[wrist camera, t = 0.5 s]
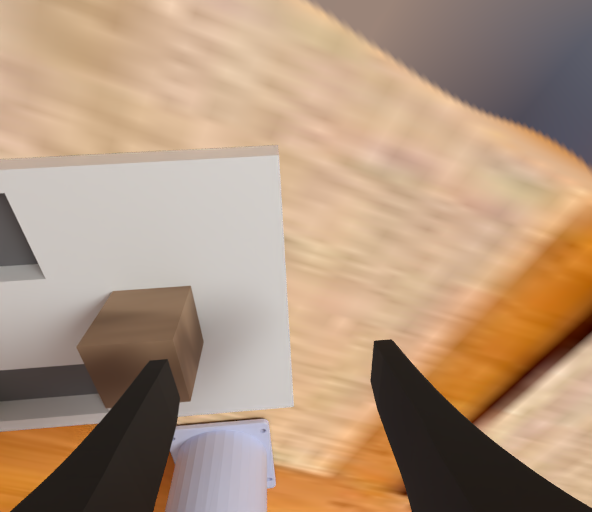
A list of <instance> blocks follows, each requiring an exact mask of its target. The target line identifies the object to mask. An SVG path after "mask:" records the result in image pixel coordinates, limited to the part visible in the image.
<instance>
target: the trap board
mask: <svg viewBox="0 0 592 512" xmlns="http://www.w3.org/2000/svg"><path fill="white" fill-rule="evenodd" d="M179 286H191V288H192V293H193V297H194V301H195V306H196V310H197V315H198V319H199V323H200V328H201V332H202V336H203V341H204V343H203V348H202V352H201V357H200V361H199V366H198V370H197V375H196V379H195V384H194V388H193V393H192V397H191V401H190V402H180V404H179V411H178V417H180V416H191V415H203V414H215V413H227V412H239V411H251V410H262V409H274V408H286V407H294V402H293V385H292V368H291V351H290V334H289V317H288V301H287V284H286V267H285V250H284V233H283V216H282V199H281V182H280V165H279V151H278V145H268V146H248V147H229V148H209V149H190V150H171V151H151V152H132V153H112V154H93V155H74V156H54V157H35V158H15V159H0V432H2V431H14V430H26V429H37V428H49V427H61V426H73V425H85V424H97V423H100V421H101V420H102V419H103V418H104V417H105V416H106V414H107V413H108V412H109V411H110V409H111V408H105V406H104V404H103V402H102V400H101V397H100V395H99V393H98V391H97V389H96V387H95V385H94V383H93V381H92V379H91V377H90V375H89V373H88V371H87V369H86V367H85V364H84V362H83V360H82V358H81V356H80V354H79V352H78V350H77V348H76V347H77V345H78V344H79V342H80V340H81V339H82V337H83V336H84V334H85V333H86V331H87V330H88V328H89V327H90V325H91V324H92V322H93V321H94V319H95V318H96V316H97V315H98V313H99V312H100V310H101V308H102V307H103V305H104V304H105V302H106V301H107V299H108V298H109V296H110V295H111V293H112V292H113V291H121V290H135V289H150V288H165V287H179Z"/></svg>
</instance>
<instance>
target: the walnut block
mask: <svg viewBox="0 0 592 512" xmlns="http://www.w3.org/2000/svg"><path fill="white" fill-rule="evenodd" d="M203 343H204V341H203V336H202V332H201V328H200V323H199V319H198V315H197V310H196V306H195V301H194V297H193V293H192V288H191V286H179V287H165V288H150V289H135V290H121V291H113V292H112V293H111V295H110V296H109V298H108V299H107V301H106V302H105V304H104V305H103V307H102V308H101V310H100V312H99V313H98V315H97V316H96V318H95V319H94V321H93V322H92V324H91V325H90V327H89V328H88V330H87V331H86V333H85V334H84V336H83V337H82V339H81V340H80V342H79V344H78V345H77V347H76V348H77V350H78V352H79V354H80V356H81V358H82V360H83V362H84V364H85V367H86V369H87V371H88V373H89V375H90V377H91V379H92V381H93V383H94V385H95V387H96V389H97V391H98V393H99V395H100V397H101V400H102V402H103V404H104V406H105V408H112V407H113V406H114V405H115V403H116V402H117V401H118V400H119V399H120V397H121V396H122V395H123V394H124V392H125V391H126V390H127V388H128V387H129V386H130V385H131V383H132V382H133V381H134V380H135V378H136V377H137V376H138V374H139V373H140V372H141V371H142V369H143V368H144V367H145V365H146V364H147V363H148V362H149V361H150V360H161V359H168V362H169V365H170V368H171V371H172V374H173V377H174V380H175V383H176V386H177V390H178V393H179V396H180V402H190V401H191V397H192V393H193V388H194V384H195V379H196V375H197V370H198V366H199V361H200V357H201V352H202V348H203Z"/></svg>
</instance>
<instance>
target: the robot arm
mask: <svg viewBox="0 0 592 512" xmlns="http://www.w3.org/2000/svg"><path fill="white" fill-rule="evenodd" d="M371 385H372V389H373V393H374V397H375V401H376V405H377V409H378V412H379V415H380V418H381V421H382V423H383V426H384V429H385V432H386V434H387V437H388V440H389V443H390V445H391V448H392V451H393V453H394V456H395V459H396V462H397V464H398V467H399V470H400V473H401V475H402V479H403V482H404V485H405V488H406V491H407V495H408V499H409V502H410V506H411V510H412V512H592V508H590V507H589V506H587V505H585V504H584V503H582V502H581V501H579V500H577V499H576V498H574V497H572V496H571V495H569V494H567V493H566V492H564V491H563V490H561V489H560V488H558V487H557V486H555V485H554V484H552V483H551V482H549V481H548V480H546V479H545V478H543V477H542V476H540V475H539V474H537V473H536V472H534V471H533V470H532V469H530V468H529V467H527V466H526V465H525V464H523V463H522V462H521V461H519V460H518V459H516V458H515V457H514V456H512V455H511V454H510V453H508V452H507V451H506V450H504V449H503V448H502V447H500V446H499V445H498V444H497V443H495V442H494V441H493V440H492V439H490V438H489V437H488V436H487V435H485V434H484V433H483V432H482V431H481V430H479V429H478V428H477V427H476V426H475V425H473V424H472V423H471V422H470V421H469V420H468V419H467V418H466V417H464V416H463V415H462V414H461V413H460V412H459V411H458V410H457V409H456V408H455V407H454V406H453V405H452V404H451V403H450V402H448V401H447V400H446V399H445V398H444V397H443V396H442V395H441V394H440V393H439V392H438V391H437V390H436V389H435V388H434V386H433V385H432V384H431V383H430V382H429V381H428V380H427V379H426V378H425V377H424V376H423V375H422V374H421V373H420V372H419V370H418V369H417V368H416V367H415V366H414V365H413V364H412V363H411V361H410V360H409V359H408V358H407V357H406V356H405V354H404V353H403V352H402V351H401V350H400V348H399V347H398V346H397V345H396V344H395V342H394V341H392V340H379V341H374V348H373V359H372V371H371ZM179 404H180V396H179V393H178V390H177V386H176V383H175V380H174V377H173V374H172V371H171V368H170V365H169V362H168V359H161V360H150V361H149V362H148V363H147V364H146V365H145V367H144V368H143V369H142V371H141V372H140V373H139V374H138V376H137V377H136V378H135V380H134V381H133V382H132V383H131V385H130V386H129V387H128V388H127V390H126V391H125V392H124V394H123V395H122V396H121V397H120V399H119V400H118V401H117V402H116V403H115V405H114V406H113V407H112V408H111V409H110V411H109V412H108V413H107V414H106V416H105V417H104V418H103V419H102V420H101V421H100V423H99V424H98V425H97V426H96V427H95V428H94V429H93V430H92V432H91V433H90V434H89V435H88V436H87V437H86V438H85V439H84V441H83V442H82V443H81V444H80V445H79V446H78V447H77V448H76V449H75V450H74V451H73V452H72V453H71V455H70V456H69V457H68V458H67V459H66V460H65V461H64V462H63V463H62V464H61V465H60V466H59V467H58V468H57V469H56V470H55V471H54V472H53V473H52V474H51V475H50V476H49V477H48V478H47V479H46V480H44V481H43V482H42V483H41V484H40V485H39V486H38V487H37V488H36V489H35V490H34V491H33V492H31V493H30V494H29V495H28V496H27V497H26V498H25V499H24V500H23V501H21V502H20V503H19V504H18V505H17V506H16V507H15V508H14V509H13V510H11V511H10V512H153V510H154V506H155V502H156V498H157V494H158V491H159V487H160V484H161V480H162V477H163V473H164V469H165V466H166V462H167V459H168V455H169V452H171V455H172V458H173V460H174V463H175V469H174V473H173V478H172V482H171V487H170V491H169V496H168V500H167V505H166V509H165V512H267V488H273V487H274V486H275V485H276V479H275V470H274V462H273V454H272V445H271V437H270V429H269V422H268V420H266V419H253V420H241V421H229V422H218V423H206V424H194V425H182V426H176V424H177V418H178V411H179Z"/></svg>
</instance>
